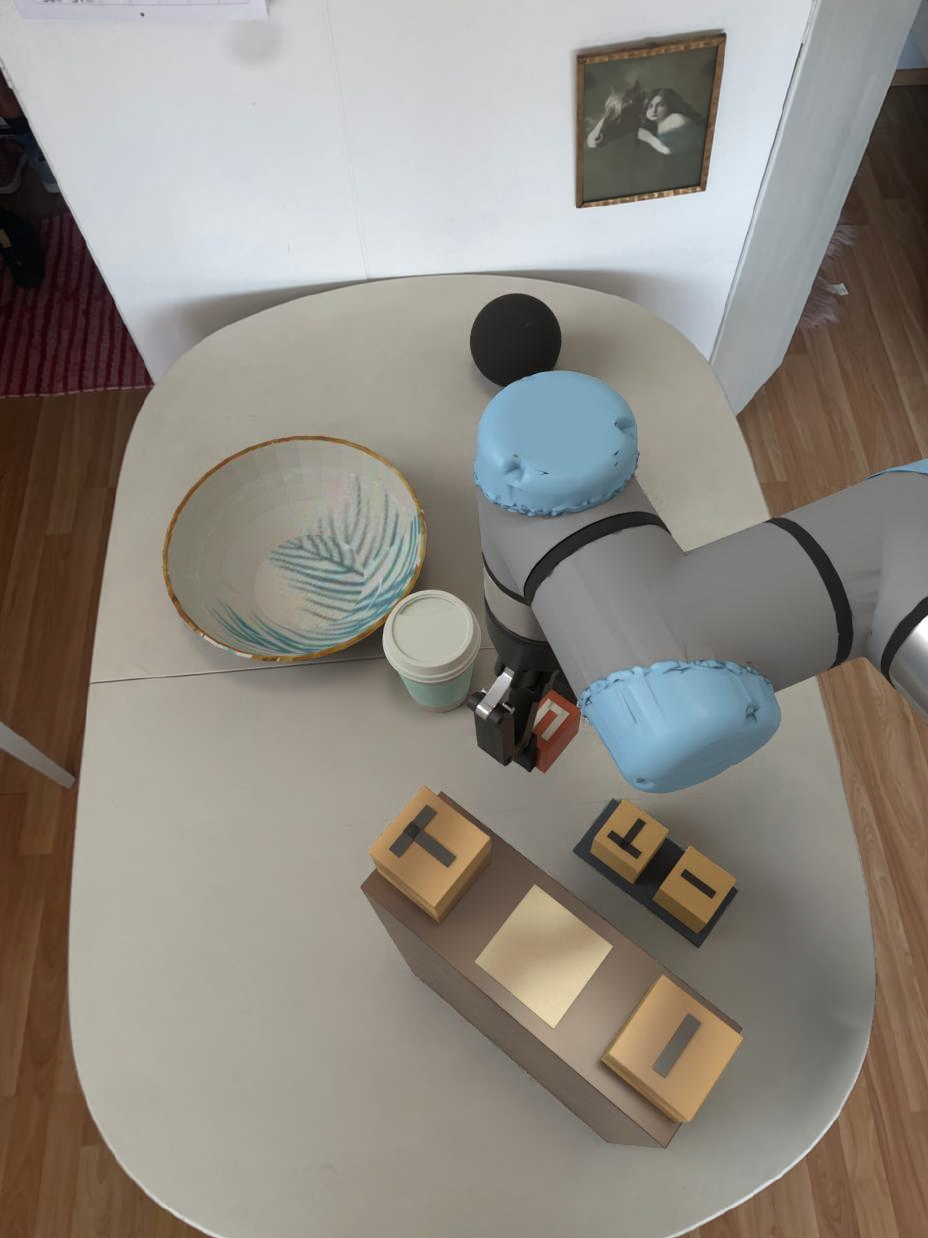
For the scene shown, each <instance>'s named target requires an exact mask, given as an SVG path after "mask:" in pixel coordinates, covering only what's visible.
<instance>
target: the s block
mask: <svg viewBox="0 0 928 1238" xmlns="http://www.w3.org/2000/svg"><path fill="white" fill-rule="evenodd" d="M581 718H582V713H581V711H580V708H579V706H577V707H576V706H575V705H574V704H572V703H570V702H569V701H568V700H566V699H565V698H563V697H562V696H561V695H559V694H558V693H556V692H555V691H553V690H552V689H551V691H550V692H549V693H548V694H547V695H546V696H545V697H544V698H543V699H542V700H541V702H540V705H539V709H538V712H537V716H536V719H535V722H534V726H533V729H532V732H534V733H535V734H536V735H537V747H536V766H535V767H534V768H536V769H537V770H539V771H540V772H541V773H543V774H546V773H547V772H548V770H549V769H551V766H552V765H554V763H555V762H556V761H557V760H558V759H559V757H560V756H561V755H562V753H563V752H564V751H565V749H566V748H567V747H568V746H569V744H570V743H571V742H572V741H573V739H574V738H575V737H576V736H577V735H578V733H579V730H580V724H581Z"/></svg>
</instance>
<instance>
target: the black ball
mask: <svg viewBox="0 0 928 1238" xmlns="http://www.w3.org/2000/svg"><path fill="white" fill-rule="evenodd" d="M557 318H558V317H557V316H556V315H555V313H554V312H553V310H552V309H551V308H550V307H549V306H548V304H546V303H545V302H543V300H541V299H540V298H537V297H535V296H533V295H530V294H527V293H520V292H512V293H511V292H510V293H506V294H503V295H500V296H497V297H495V298H493V299H492V300H490V301H489V302H488V303H486V305H484V306H483V307H482V308H481V310H480V311H479V312H478V313H477V315H476V317H475V318H474V321H473V324H472V326H471V329H470V333H469V334H470V335H469V348H470V353H471V357H472V359H473V362H474V365H475V366H476V368H477V369H478V371H479V372H480V373H481V375H483V376H484V377H485V379H487V380H488V381H490V382H492V383H493V384H496V385H497V386H499V387H502V388H505V387H507V386H508V385H510V384H511V383H513V382H515V381H518V380H520V379H522V378H524V377H529V376H532V375H535V374H537V373H541V372H548V371H553V369H554V367H555V365H556V364H557V362H558V360H559V357H560V354H561V351H562V344H563V343H562V341H563V338H562V337H563V336H562V330H561V326H560V323H559V321H558V319H557Z"/></svg>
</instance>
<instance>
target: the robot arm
mask: <svg viewBox="0 0 928 1238" xmlns="http://www.w3.org/2000/svg"><path fill="white" fill-rule="evenodd" d="M477 428H478V429H477V434H476V439H477V440H476V459H474V464H473V472H474V474H473V475H472V476H473V482H474V484H475V486H476V491H477V493H476V494H477V504H478V517H479V531H480V544H481V545H480V547H481V556H482V565H483V567H482V569H483V585H484V586H483V587H484V588H483V604H484V605H483V606H484V621H485V622H484V623H485V627H486V632H487V634H488V635H489V638H490V641H491V643H492V645H493V647H494V649H495V651H496V652H497V654H498V656H497V659H496V660H495V661H496V662H495V664H494V667H493V672H494V673H493V674H494V676H495V678H496V680H495V682H494V683H493V684H492V685H491V687H490V688H488V686H484V687H483V688H482V689H481V691H478V690H475V691H473V692H472V693H471V694H470V695H468V697H467V700H466V703H465V707H466V708H468V709H469V710H471V711H472V712H473V720H474V728H475V736H476V744H477V747H478V748H479V749H481V750H482V751H483V752H485V753H486V754H487V755H489V756H490V757H491V758H492V759H494V760H495V761H497V763H499V764H500V765H502V766H503V767H507V766H510V764H511V763H512V762H514V763H516V764H517V765H519V766H520V767H521V768H523V769H524V770H525V771H527V772H528V773H531V772H532V771H533V770H534V769H535V768H536V767H535V766H536V747H537V735H536V734H535V733H534V732H532V729H533V726H534V722H535V719H536V716H537V712H538V709H539V705H540V702H541V700H542V699H543V698H544V697H545V696H546V695H547V694H548V693H549V692H550V691H551V689H552V690H553V691H555V692H556V693H558V694H559V695H561V696H562V697H563V698H565V699H566V700H568V701H569V702H570V703H572V704H574V705H575V706H576V707H578V708H579V709H580V711H581V716H582V717H583V719H586V720H587V721H588V723H589V725H591V726H592V728H593V729H594V731H595V733H596V734H597V736H598V737H599V739H600V741H601V743H602V745H603V746H604V748H605V749H606V751H607V752H608V754H609V756H610V757H611V759H612V762H613V763H614V765H615V766H616V768H617V769H618V771H619V773H620V774H621V776H622V777H623V780H625V781H626V782H627V783H628V784H629V785H630V786H631V787H633V788H634V789H636V790H638V791H640V792H643V793H646V794H659V795H661V794H662V795H663V794H670V793H675V792H679V791H683V790H686V789H689V788H691V787H694V786H697V785H699V784H701V783H704V782H706V781H709V780H710V779H713V778H715V777H717V776H719V775H720V774H722V773H723V772H724V771H727V769H729V768H730V767H733V766H737V765H739V764H740V763H742V762H743V761H745V760H747V759H748V758H750V757H752V756H753V755H754V754H756V753H757V752H758V751H760V749H762V748H763V747H764V746H765V745H766V744H767V743H769V741H771V739H772V738H773V736H774V735H775V734H776V733H777V732H778V730H779V729H780V726H781V723H782V710H781V706H780V704H779V702H778V699H777V697H776V695H775V694H777V693H778V692H781V691H783V690H785V689H788V688H790V687H793V686H795V685H797V684H799V683H801V682H804V681H806V680H808V679H811V678H813V677H816V676H818V675H821V674H823V673H825V672H827V671H830V670H831V669H835V668H836V667H839V666H841V665H843V664H845V663H848V662H850V661H853V660H856V659H859V658H865V659H866V660H868V661H869V663H870V664H871V665H872V666H873V668H874V669H876V671H878V672H879V673H880V674H881V675H882V676H883V677H884V679H885V680H886V681H887V682H888V683H889V684H890V686H891V687H892V688H893V689H894V690H896V691H897V692H898V693H899V694H900V695H901V697H902V698H903V699H904V700H905V701H906V702H907V703H908V704H909V706H910V707H911V708H912V709H913V710H914V711H915V712H916V714H917V715H918V716H919V717H920V718H921V719H922V720H923V721H924V722H925V723H926V725H928V457H927V458H924V459H920V460H917V461H914V462H910V463H907V464H904V465H901V466H894V467H891V468H887V469H884V470H881V471H879V472H877V473H873V474H871V475H869V476H868V477H867V478H865V479H864V480H862V481H860V482H859V483H856V484H853V485H851V486H849V487H846V488H843V489H842V490H839V491H836V492H834V493H832V494H829V495H827V496H825V497H822V498H820V499H817V500H815V501H813V502H810V503H808V504H805V505H802V506H800V507H798V508H795V509H794V510H791V511H788V512H786V513H784V514H782V515H778V516H776V517H772V518H770V519H767V520H765V521H762V522H759V523H756V524H754V525H751V526H748V527H746V528H744V529H741V530H739V531H736V532H734V533H731V534H729V535H726V536H724V537H721V538H718V539H715V540H713V541H710V542H707V543H706V544H703V545H700V546H698V547H696V548H693V549H690V550H687V551H684V550H683V548H682V547H681V545H679V543H678V541H677V540H676V539H675V537H674V536H673V534H672V532H671V531H670V529H669V528H668V526H667V524H666V522H664V521H663V519H662V517H661V516H660V515H659V513H658V512H657V509H656V508H655V507H654V505H653V503H652V502H651V501H650V499H649V498H648V496H647V494H646V493H645V491H644V490H643V488H642V486H641V485H640V483H639V480H638V479H637V475H636V471H637V469H638V468H639V467H638V462H639V459H640V451H639V450H638V449H639V447H638V446H639V444H638V443H639V442H638V441H639V440H638V424H637V421H636V418H635V415H634V412H633V410H632V408H631V406H630V405H629V403H628V401H627V400H626V399H625V397H623V396H622V395H621V393H619V392H618V391H617V390H616V389H615V388H614V387H613V386H611V385H609V384H608V383H606V382H605V381H603V380H600V379H599V378H597V377H595V376H592V375H589V374H586V373H581V372H578V371H571V370H551V371H548V372H541V373H537V374H535V375H532V376H529V377H524V378H522V379H520V380H518V381H515V382H513V383H511V384H510V385H508V386H507V387H503V388H502V389H501V390H500V391H499V392H498V393H496V395H494V397H493V398H492V399H491V400H490V401H489V403H488V404H487V406H486V407H485V409H484V411H483V412H482V415H481V418H480V420H479V423H478V427H477Z"/></svg>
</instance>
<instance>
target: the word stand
mask: <svg viewBox="0 0 928 1238" xmlns="http://www.w3.org/2000/svg"><path fill="white" fill-rule="evenodd" d="M367 852H368V854H369V856H370V858H371V861H372V862H373V864H374V866H375V868H374V869H373V871H372V872H371V873H370V874H369V875H368V876H367V877H366V879H365V880H364V881H363V882H362V883H361V885H360V886H359V888H360V890H361V891H362V893H363V895H364V896H365V899H366V900H367V901H368V903H369V905H370V906H371V908H372V909H373V911H374V912H375V914H376V916H377V917H378V919H379V921H380V923H381V924H382V925H383V927H384V929H385V930H386V932H387V934H388V935H389V937H390V938H391V940H392V942H393V943H394V944H395V946H396V948H397V950H398V951H399V953H400V955H401V956H402V958H403V960H404V961H405V963H406V964H407V966H408V967H409V969H410V971H411V972H412V974H414V975H415V976H416V977H418V979H419V980H420V981H422V983H424V984H425V985H426V986H428V987H429V988H430V990H432V991H433V992H434V993H435V994H437V995H438V996H439V997H440V998H441V999H442V1000H443V1001H445V1003H447V1004H448V1005H449V1006H450V1007H452V1008H453V1009H454V1010H455V1011H456V1012H457V1013H458V1014H460V1015H461V1016H462V1017H463V1018H464V1020H467V1021H468V1022H469V1023H470V1024H471V1025H472V1026H473V1027H474V1028H476V1030H478V1031H479V1033H481V1034H482V1035H483V1036H485V1037H486V1038H487V1039H488V1040H489V1041H490V1042H492V1044H494V1045H495V1046H496V1047H497V1048H498V1049H499V1050H501V1052H503V1054H505V1055H506V1056H507V1057H508V1058H509V1059H511V1061H513V1062H514V1063H515V1064H517V1065H518V1067H520V1068H521V1069H522V1070H523V1071H525V1072H526V1073H527V1075H529V1076H530V1077H532V1079H534V1080H535V1081H536V1082H537V1083H538V1084H539V1085H540V1086H542V1087H543V1088H544V1089H546V1091H547V1092H548V1093H550V1094H551V1096H553V1097H554V1098H555V1099H556V1100H558V1101H559V1102H560V1103H561V1104H563V1105H564V1107H566V1108H567V1109H568V1110H569V1111H570V1112H571V1113H573V1114H574V1115H575V1116H576V1117H577V1118H578V1119H580V1120H581V1122H583V1124H585V1125H586V1126H587V1127H589V1128H590V1129H591V1130H592V1131H593V1132H595V1134H597V1135H598V1136H599V1137H600V1138H601V1139H602V1140H603V1141H604V1142H605V1143H607V1144H614V1145H625V1146H634V1147H643V1148H652V1149H663V1150H666V1149H667V1148H668V1146H669V1144H670V1143H671V1142H672V1141H673V1138H674V1137H675V1135H676V1133H677V1132H678V1131H679V1129H680V1128H681V1126H682V1124H683V1123H691V1122H692V1120H693V1119H694V1118H695V1116H696V1114H697V1113H698V1111H699V1110H700V1108H701V1106H702V1105H703V1103H705V1100H706V1099H707V1097H708V1096H709V1094H710V1093H711V1091H712V1089H713V1088H714V1086H715V1085H716V1083H717V1082H718V1080H719V1078H720V1077H721V1075H722V1074H723V1072H724V1071H725V1069H726V1067H727V1066H728V1065H729V1063H730V1061H731V1060H732V1058H733V1056H734V1055H735V1053H736V1052H737V1050H738V1049H739V1047H740V1046H741V1044H742V1043H743V1041H744V1039H745V1038H744V1036H743V1035H741V1033H742V1031H743V1029H744V1028H743V1027H742V1026H741V1025H740V1024H739V1023H738V1022H736V1021H735V1020H734V1019H732V1018H731V1017H730V1016H728V1015H727V1014H726V1013H725V1012H723V1011H722V1010H721V1009H720V1008H719V1007H717V1006H715V1004H713V1003H712V1002H710V1000H708V999H707V998H706V997H704V996H703V995H702V994H700V993H699V991H697V990H696V989H694V988H692V986H690V985H689V984H688V983H686V982H685V981H684V980H683V979H681V978H680V977H679V976H678V975H677V974H675V973H674V972H672V971H671V970H670V969H669V968H668V967H666V966H665V965H664V964H662V963H661V962H660V961H658V959H656V958H655V957H653V956H652V955H651V954H650V953H649V952H647V951H646V950H645V949H644V948H642V947H641V946H640V945H638V944H637V943H636V942H635V941H633V940H631V938H629V937H628V936H627V935H626V934H624V933H623V932H622V931H620V930H619V929H618V928H617V927H616V926H614V924H613V925H612V923H610V922H609V921H607V919H605V918H604V917H603V916H601V914H599V913H598V912H597V911H595V910H594V909H592V908H591V906H589V905H588V904H587V903H585V902H584V901H582V900H581V899H580V898H578V897H577V896H576V895H575V894H573V893H572V892H571V891H569V890H568V889H567V888H566V887H565V886H563V885H562V884H561V883H559V882H558V881H557V880H555V879H554V878H553V877H552V876H551V875H549V874H548V873H547V872H545V871H544V869H542V868H541V867H539V866H538V865H536V863H534V862H533V861H531V860H530V859H529V858H528V857H526V856H525V855H523V853H521V852H520V851H519V850H517V848H515V847H513V846H512V845H511V844H510V843H508V842H507V841H506V840H505V839H503V838H502V837H501V836H499V834H497V833H496V832H494V831H493V830H492V829H491V828H490V827H488V826H487V825H486V824H485V823H483V822H482V821H480V820H479V819H478V818H477V817H476V816H475V815H473V814H471V813H470V812H469V811H468V810H466V809H465V808H464V807H463V806H461V804H459V803H458V802H457V801H455V800H454V799H453V798H451V797H450V796H449V795H448V794H447V793H446V792H443V791H441V790H440V791H439V792H438V794H436V793H435V792H434V791H432V790H431V789H430V788H428V786H427V785H423V786H422V787H421V788H420V790H419V791H418V792H417V793H416V794H415V795H414V797H413V798H412V799H411V800H410V802H408V804H407V805H405V807H404V808H403V809H402V810H401V812H399V814H398V815H397V816H396V817H395V819H394V820H393V821H392V822H391V824H389V826H388V827H387V828H385V830H384V832H383V833H381V835H380V836H379V837H378V838H377V840H376V841H375V842H374V843H373V844H372V846H371V847H370V848H369V849H368V851H367Z"/></svg>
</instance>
